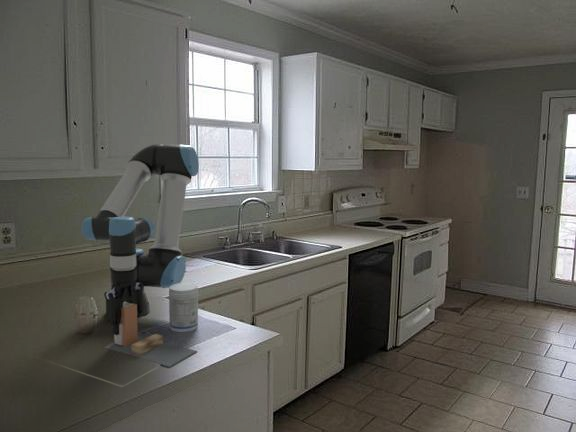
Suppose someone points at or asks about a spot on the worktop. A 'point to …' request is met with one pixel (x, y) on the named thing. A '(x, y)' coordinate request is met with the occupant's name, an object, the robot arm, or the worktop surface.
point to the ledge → (146, 344)
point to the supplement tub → (183, 307)
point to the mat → (158, 353)
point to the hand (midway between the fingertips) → (126, 340)
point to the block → (129, 323)
